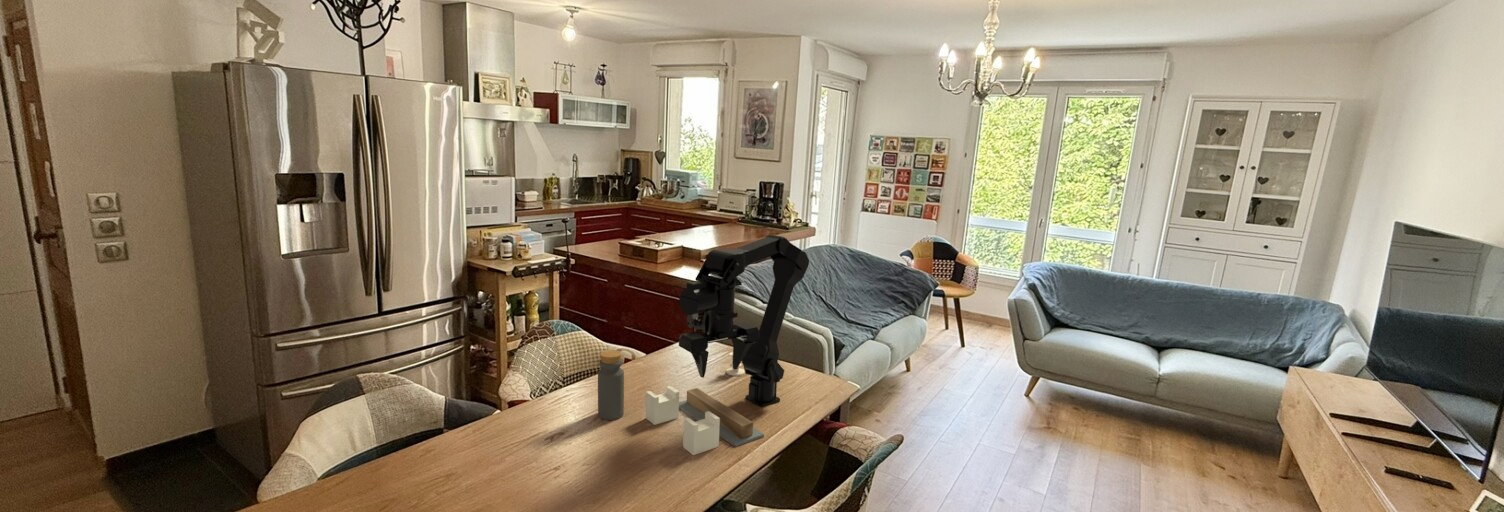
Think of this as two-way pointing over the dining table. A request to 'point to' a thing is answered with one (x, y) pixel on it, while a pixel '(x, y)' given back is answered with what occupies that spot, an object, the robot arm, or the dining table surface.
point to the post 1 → (662, 406)
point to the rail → (720, 413)
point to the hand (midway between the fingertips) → (718, 372)
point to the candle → (732, 371)
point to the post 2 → (701, 434)
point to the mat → (722, 431)
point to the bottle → (610, 386)
